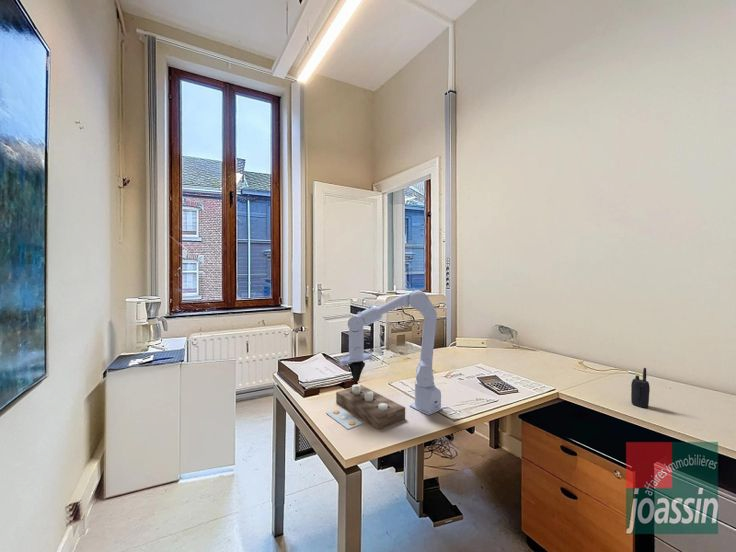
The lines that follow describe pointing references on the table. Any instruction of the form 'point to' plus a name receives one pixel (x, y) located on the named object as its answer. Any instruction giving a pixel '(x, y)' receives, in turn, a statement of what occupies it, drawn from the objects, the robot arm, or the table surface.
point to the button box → (371, 407)
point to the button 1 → (356, 389)
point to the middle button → (368, 396)
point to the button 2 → (382, 406)
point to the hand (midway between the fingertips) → (356, 380)
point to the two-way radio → (640, 391)
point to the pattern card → (344, 418)
